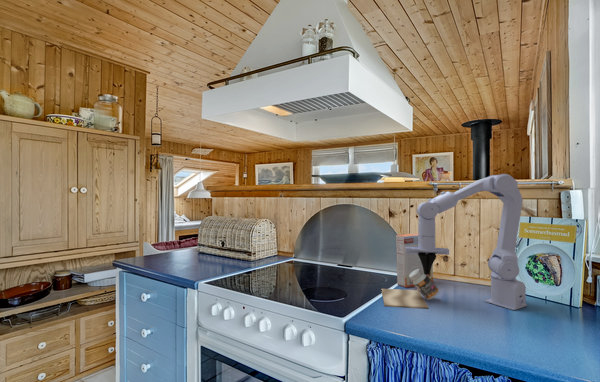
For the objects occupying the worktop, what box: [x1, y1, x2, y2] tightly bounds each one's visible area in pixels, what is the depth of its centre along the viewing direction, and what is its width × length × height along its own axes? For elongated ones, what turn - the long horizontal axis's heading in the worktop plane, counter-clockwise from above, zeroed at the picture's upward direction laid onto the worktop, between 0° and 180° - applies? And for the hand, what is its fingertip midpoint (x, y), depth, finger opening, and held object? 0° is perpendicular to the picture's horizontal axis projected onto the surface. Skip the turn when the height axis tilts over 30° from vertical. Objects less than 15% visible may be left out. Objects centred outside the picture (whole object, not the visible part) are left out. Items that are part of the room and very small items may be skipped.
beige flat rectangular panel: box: [380, 288, 429, 309], centre depth 115 cm, size 14×18×1 cm
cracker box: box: [395, 232, 434, 288], centre depth 132 cm, size 14×6×21 cm, turn 109°
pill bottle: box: [409, 269, 440, 300], centre depth 113 cm, size 6×6×10 cm
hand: (426, 273), depth 113 cm, fingers closed
